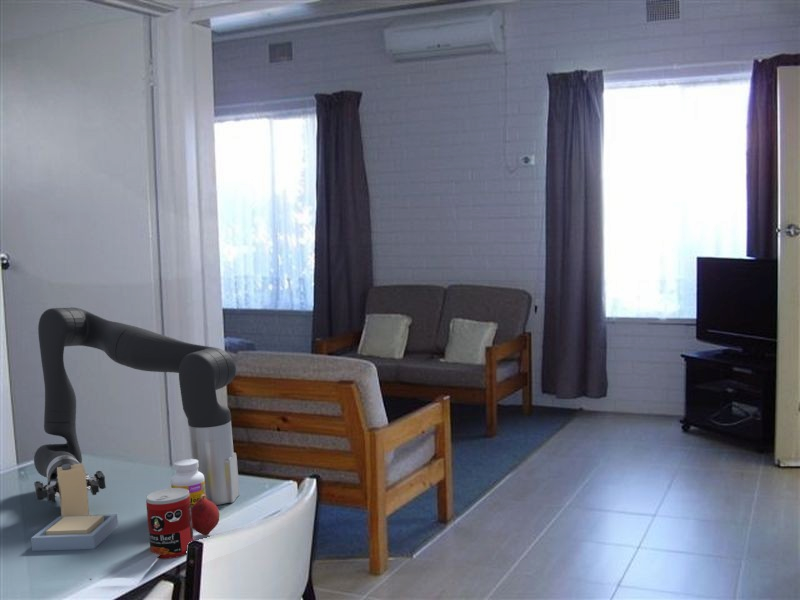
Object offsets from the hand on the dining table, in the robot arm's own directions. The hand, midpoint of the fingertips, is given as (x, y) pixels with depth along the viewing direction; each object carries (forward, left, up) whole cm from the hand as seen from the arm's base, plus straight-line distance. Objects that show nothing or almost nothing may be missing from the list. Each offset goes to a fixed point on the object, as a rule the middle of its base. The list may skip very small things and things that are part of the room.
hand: (74, 493), depth 183 cm
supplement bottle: (-24, 0, -7) cm, 25 cm away
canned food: (-25, +15, -7) cm, 30 cm away
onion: (-29, +7, -7) cm, 31 cm away
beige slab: (-4, +9, -6) cm, 12 cm away
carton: (+1, -2, -7) cm, 7 cm away
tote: (-4, +9, -7) cm, 12 cm away
